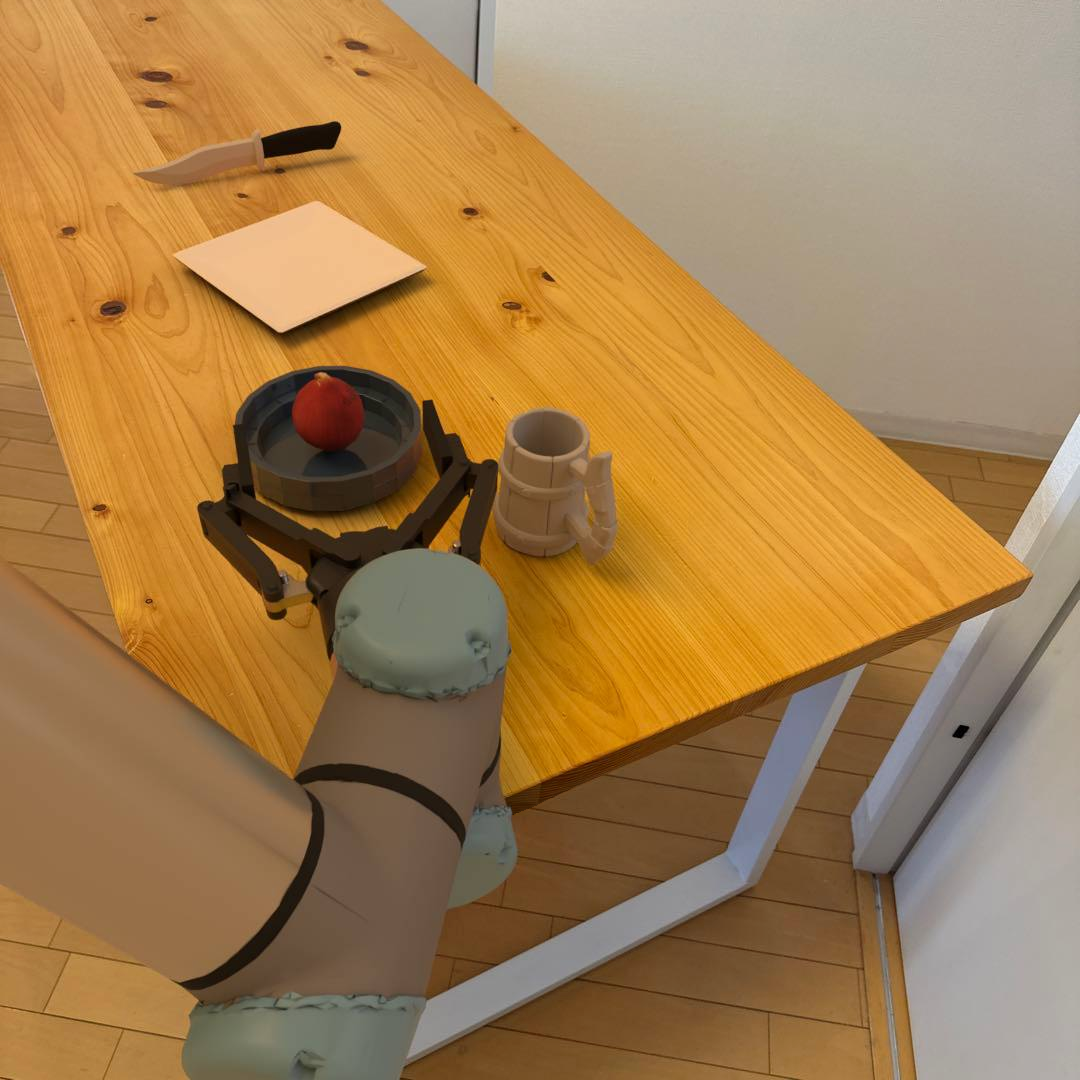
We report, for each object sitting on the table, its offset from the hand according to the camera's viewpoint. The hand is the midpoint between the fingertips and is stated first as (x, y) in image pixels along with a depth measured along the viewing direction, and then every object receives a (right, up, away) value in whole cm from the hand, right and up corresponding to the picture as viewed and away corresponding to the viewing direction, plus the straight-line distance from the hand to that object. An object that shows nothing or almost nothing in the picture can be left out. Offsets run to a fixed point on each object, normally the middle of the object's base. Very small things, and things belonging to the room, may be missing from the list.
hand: (336, 426), depth 74 cm
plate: (-10, +19, +32) cm, 39 cm away
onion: (-3, -1, +12) cm, 13 cm away
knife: (-21, +35, +47) cm, 62 cm away
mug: (+16, -9, +7) cm, 20 cm away
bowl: (-3, -1, +13) cm, 13 cm away
